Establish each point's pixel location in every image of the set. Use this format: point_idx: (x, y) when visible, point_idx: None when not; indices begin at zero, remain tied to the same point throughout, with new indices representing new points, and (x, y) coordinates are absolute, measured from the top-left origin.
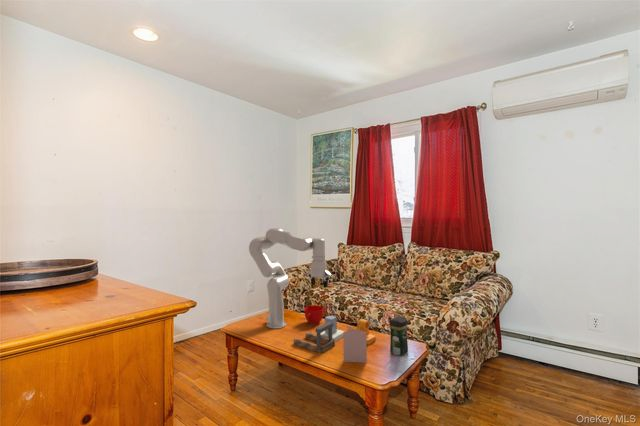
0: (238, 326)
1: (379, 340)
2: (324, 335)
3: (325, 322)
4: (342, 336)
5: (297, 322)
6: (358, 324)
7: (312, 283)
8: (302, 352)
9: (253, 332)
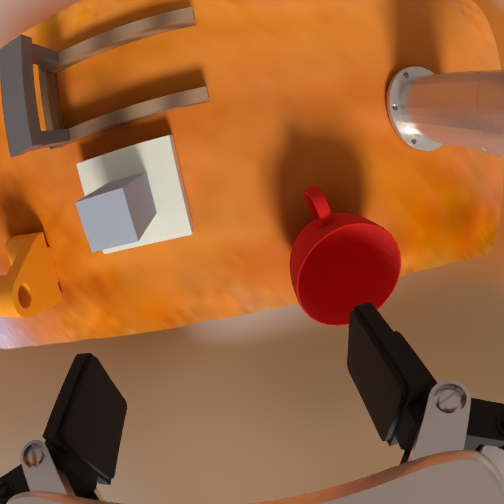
0: (478, 32)
1: None
2: (123, 148)
3: (128, 182)
4: None
5: (383, 193)
6: (12, 278)
7: (364, 337)
8: (106, 10)
9: (414, 7)
